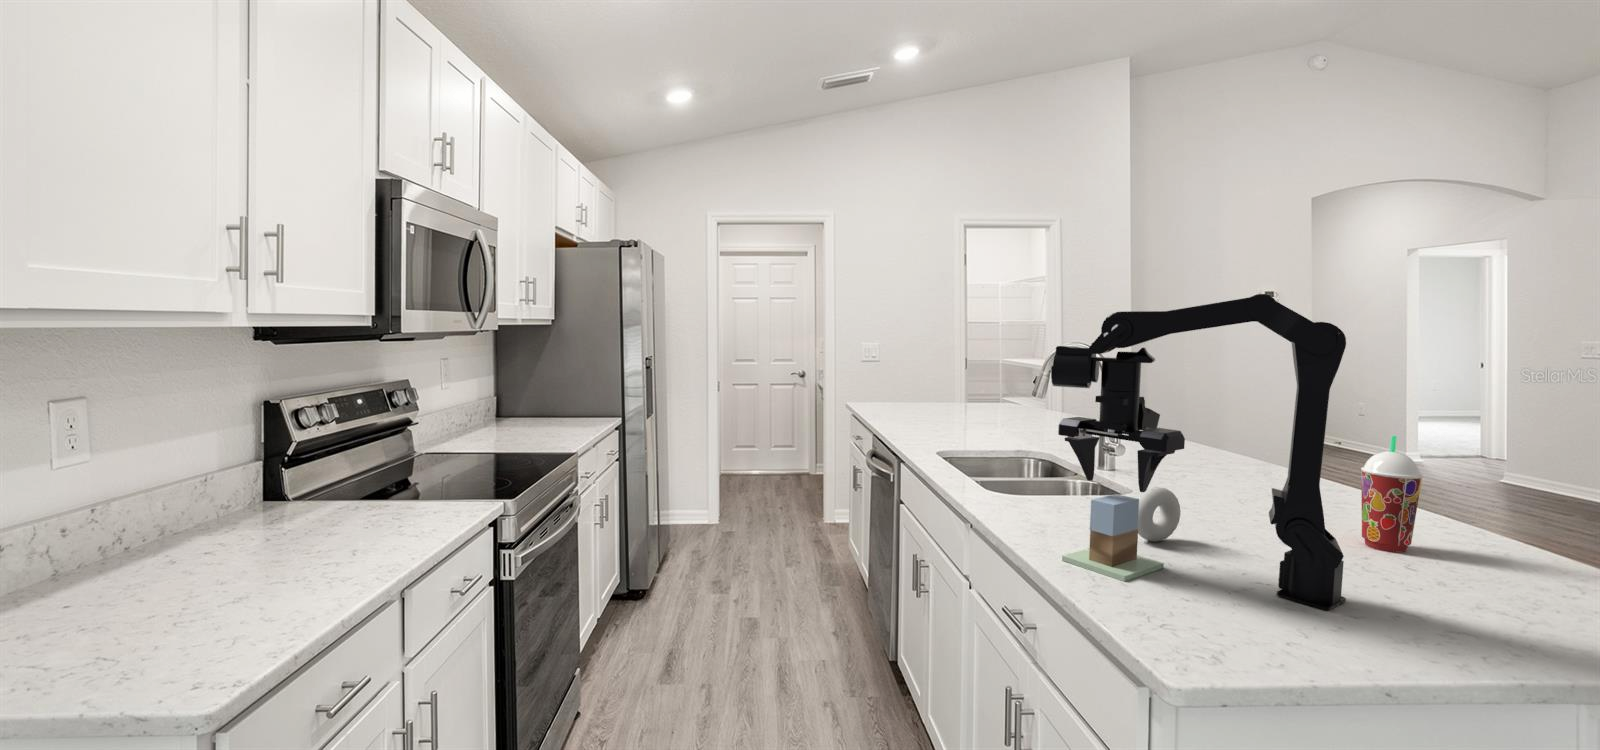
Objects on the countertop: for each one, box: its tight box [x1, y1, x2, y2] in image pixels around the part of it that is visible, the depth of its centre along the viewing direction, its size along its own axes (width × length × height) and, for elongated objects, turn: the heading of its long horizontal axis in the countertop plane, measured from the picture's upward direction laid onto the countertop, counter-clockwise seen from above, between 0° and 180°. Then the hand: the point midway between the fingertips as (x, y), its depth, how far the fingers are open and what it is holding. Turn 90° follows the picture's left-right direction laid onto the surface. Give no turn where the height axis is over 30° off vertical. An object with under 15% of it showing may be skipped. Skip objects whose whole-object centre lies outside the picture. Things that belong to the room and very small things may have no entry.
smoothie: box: [1360, 435, 1424, 553], centre depth 125 cm, size 8×8×20 cm
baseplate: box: [1061, 547, 1165, 582], centre depth 115 cm, size 11×11×1 cm
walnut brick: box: [1089, 529, 1139, 567], centre depth 115 cm, size 4×7×5 cm, turn 124°
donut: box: [1137, 486, 1181, 543], centre depth 127 cm, size 10×3×10 cm, turn 111°
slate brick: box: [1089, 493, 1139, 536], centre depth 114 cm, size 4×7×5 cm, turn 124°
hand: (1115, 485), depth 114 cm, fingers open, 9 cm apart
